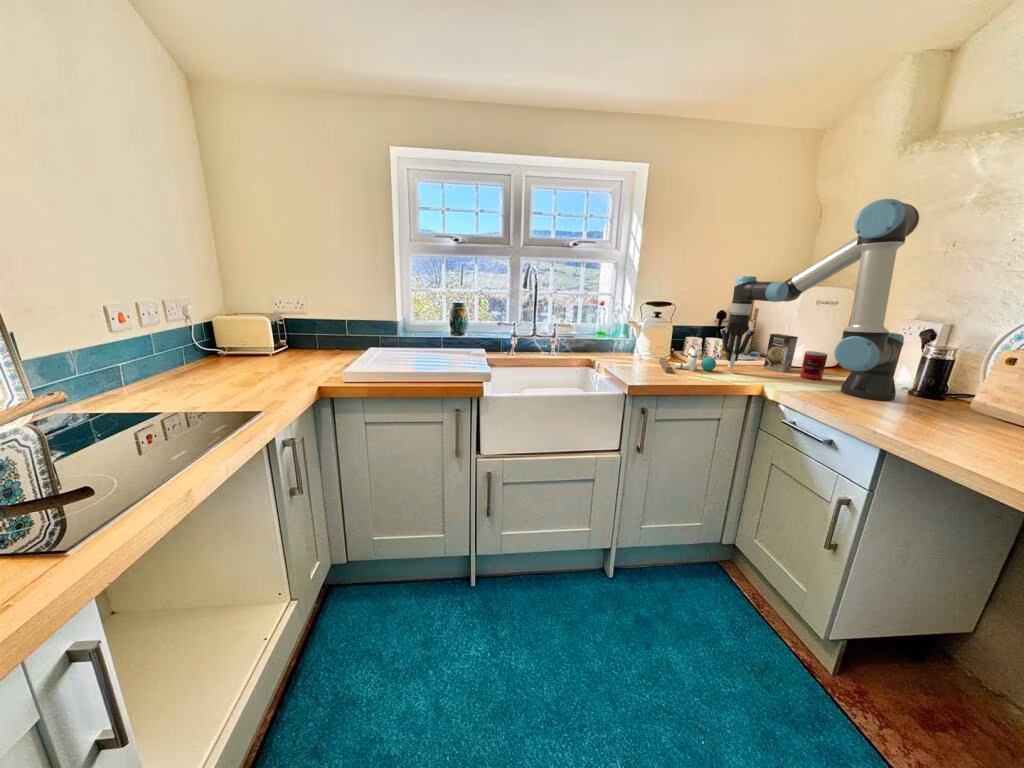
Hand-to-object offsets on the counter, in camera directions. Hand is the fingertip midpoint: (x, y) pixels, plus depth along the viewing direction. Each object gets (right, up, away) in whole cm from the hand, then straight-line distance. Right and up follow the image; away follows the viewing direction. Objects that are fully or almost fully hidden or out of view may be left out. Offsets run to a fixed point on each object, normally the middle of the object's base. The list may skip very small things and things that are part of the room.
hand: (730, 368), depth 179 cm
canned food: (+31, -5, -5) cm, 32 cm away
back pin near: (-16, -1, +1) cm, 17 cm away
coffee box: (+27, -1, +10) cm, 28 cm away
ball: (-9, +2, +2) cm, 9 cm away
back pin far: (-15, 0, +6) cm, 17 cm away
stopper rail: (-26, +1, +6) cm, 27 cm away
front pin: (-13, +1, +3) cm, 14 cm away
